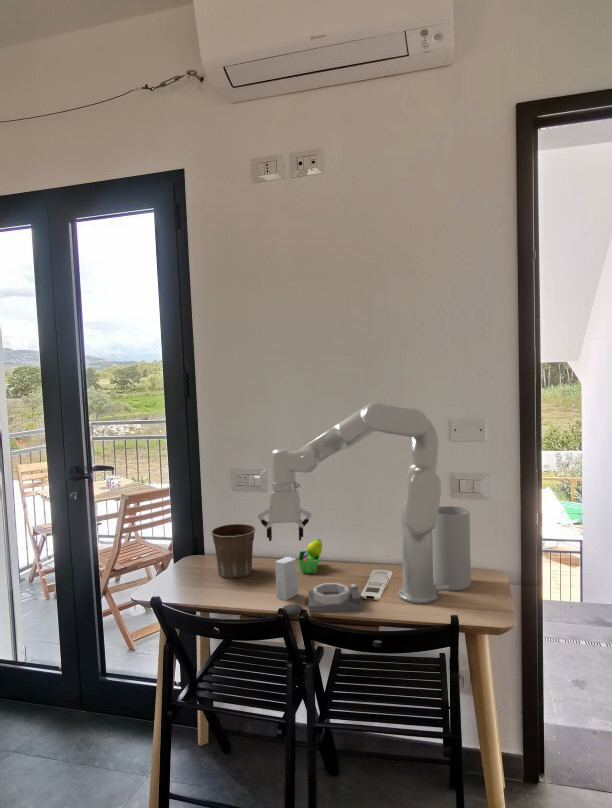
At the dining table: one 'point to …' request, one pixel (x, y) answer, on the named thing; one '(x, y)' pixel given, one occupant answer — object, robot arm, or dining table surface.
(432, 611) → the dining table surface
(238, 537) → the plant pot
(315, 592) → the octagonal ring base
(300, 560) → the fruit basket
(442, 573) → the cylinder vase
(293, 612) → the lens cap
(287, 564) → the skincare box
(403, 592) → the robot arm
